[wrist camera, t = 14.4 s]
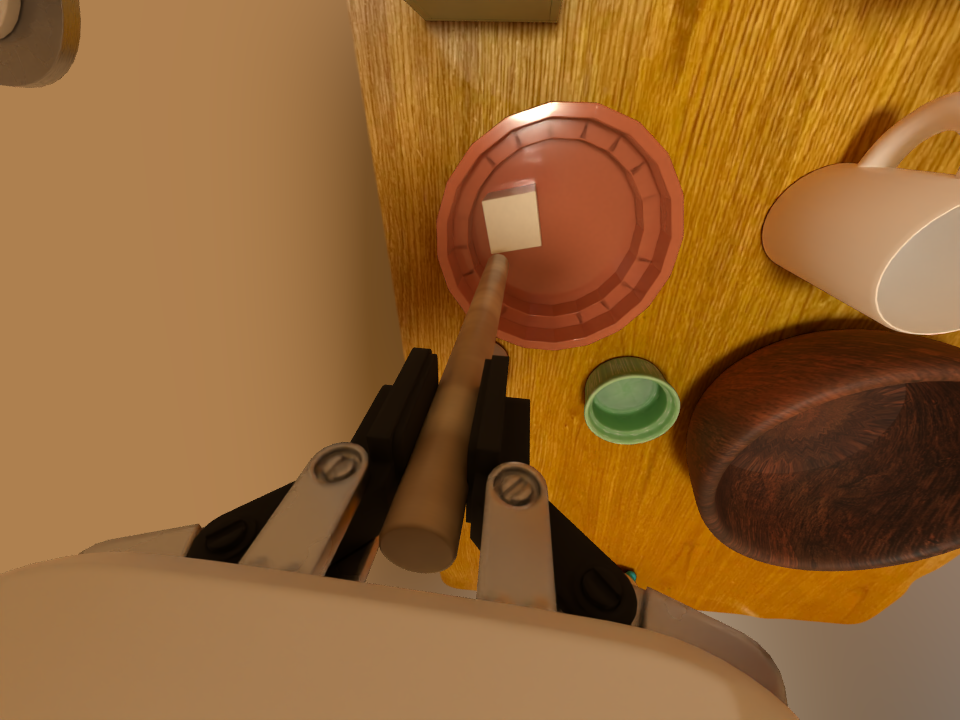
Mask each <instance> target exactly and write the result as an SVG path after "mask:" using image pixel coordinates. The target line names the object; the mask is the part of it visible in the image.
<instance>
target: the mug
mask: <svg viewBox="0 0 960 720" xmlns="http://www.w3.org/2000/svg"><path fill="white" fill-rule="evenodd" d="M946 130H953V131H956V132H957V133H958V134H959V135H960V92H954V93H951V94H947V95H944V96H941V97H939V98H936V99H934V100H932V101H930V102H928V103H926V104H924V105H922V106H920V107H919V108H917V109H916V110H914V111H913V112H911V113H910V114H908V115H907V116H905V117H904V118H903V119H901V120H900V121H899V122H897V123H896V124H895V125H893V126H892V127H891V128H890V129H889V130H888V131H886V132H885V133H884V134H883V135H882V136H881V137H880V138H879V139H878V140H877V141H876V142H875V143H874V144H873V146H872V147H871V148H870V149H869V150H868V151H867V153H866V154H865V155H864V156H863V158H862V159H861V160H860V162H859V163H858V164H857V163H839V164H834V165H829V166H826V167H823V168H821V169H818V170H816V171H814V172H812V173H810V174H808V175H806V176H804V177H803V178H801V179H799V180H798V181H797V182H795V183H794V184H793V185H791V186H790V187H789V188H788V189H787V190H786V191H785V192H784V193H783V194H782V195H781V196H780V197H779V198H778V199H777V201H776V202H775V203H774V205H773V206H772V208H771V210H770V211H769V213H768V215H767V217H766V220H765V223H764V226H763V232H762V240H763V247H764V250H765V252H766V254H767V255H768V257H769V258H770V259H771V260H772V261H773V262H774V263H776V264H777V265H779V266H781V267H782V268H784V269H786V270H788V271H789V272H791V273H793V274H795V275H796V276H798V277H800V278H802V279H804V280H805V281H807V282H809V283H811V284H812V285H814V286H816V287H818V288H819V289H821V290H823V291H825V292H826V293H828V294H830V295H832V296H833V297H835V298H837V299H839V300H840V301H842V302H844V303H846V304H847V305H849V306H851V307H853V308H854V309H856V310H858V311H860V312H861V313H863V314H865V315H867V316H868V317H870V318H872V319H874V320H875V321H877V322H879V323H881V324H882V325H884V326H886V327H888V328H890V329H892V330H895V331H898V332H903V333H908V334H922V335H932V334H941V333H948V332H953V331H957V330H960V167H959V169H958V171H957V174H956V175H952V174H944V173H935V172H926V171H917V170H909V169H900V168H896V167H897V166H898V165H899V164H900V162H901V161H902V160H903V159H904V157H905V156H906V155H907V154H908V153H909V152H911V151H912V150H913V149H914V148H915V147H916V146H917V145H919V144H920V143H921V142H923V141H924V140H926V139H928V138H929V137H931V136H933V135H935V134H938V133H940V132H943V131H946Z"/></svg>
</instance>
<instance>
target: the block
mask: <svg viewBox="0 0 960 720" xmlns="http://www.w3.org/2000/svg"><path fill="white" fill-rule="evenodd" d="M482 206H483V212H484V217H485V223H486V228H487V234H488V239H489V245H490V250H491V254H496V253H502V252H508V251H514V250H520V249H526V248H532V247H538V246H541V245H542V241H541V227H540V218H539V209H538V200H537V190H536V184H530V185H525V186H520V187H515V188H510V189H505V190H500V191H495V192H490V193H488V194H487V195H486V196H485V198H484V199H483V201H482Z"/></svg>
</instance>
